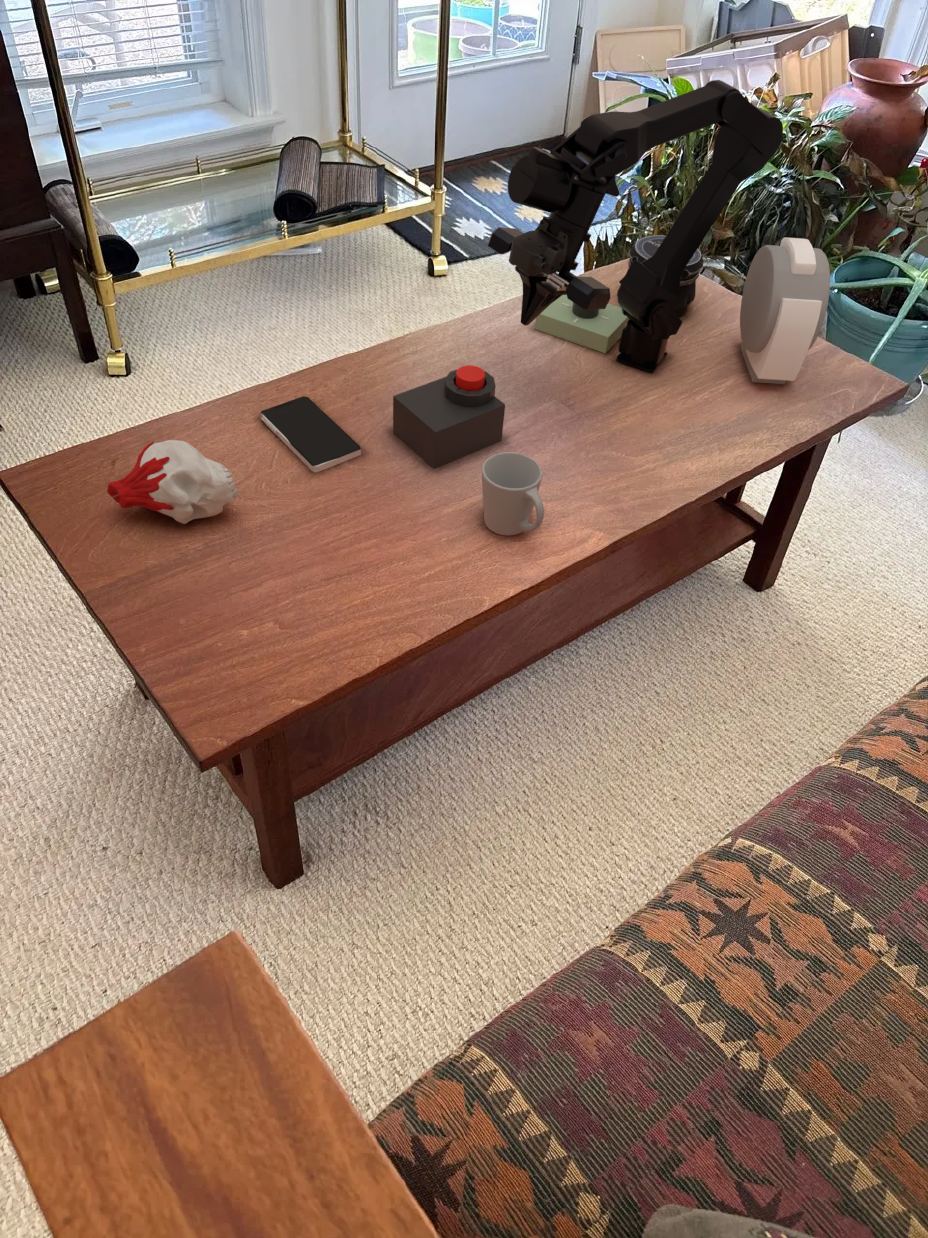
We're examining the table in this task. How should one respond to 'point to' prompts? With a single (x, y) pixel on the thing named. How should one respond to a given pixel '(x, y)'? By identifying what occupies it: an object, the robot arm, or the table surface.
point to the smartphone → (310, 433)
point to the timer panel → (583, 325)
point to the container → (687, 288)
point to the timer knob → (584, 312)
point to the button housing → (448, 419)
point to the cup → (511, 493)
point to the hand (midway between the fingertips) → (524, 324)
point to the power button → (470, 378)
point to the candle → (175, 482)
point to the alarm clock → (783, 308)
